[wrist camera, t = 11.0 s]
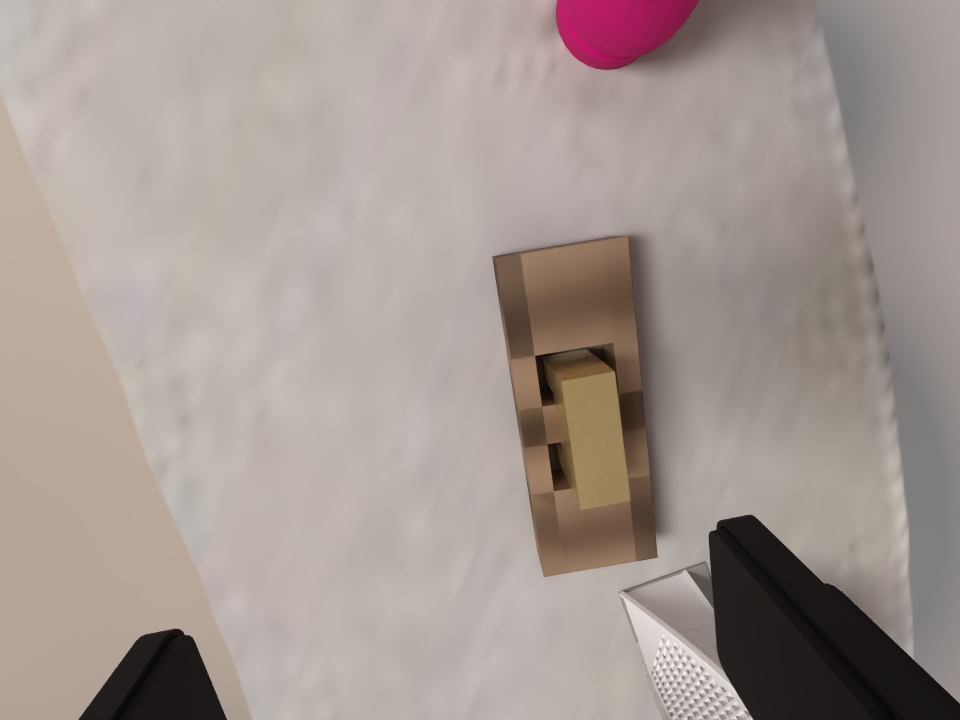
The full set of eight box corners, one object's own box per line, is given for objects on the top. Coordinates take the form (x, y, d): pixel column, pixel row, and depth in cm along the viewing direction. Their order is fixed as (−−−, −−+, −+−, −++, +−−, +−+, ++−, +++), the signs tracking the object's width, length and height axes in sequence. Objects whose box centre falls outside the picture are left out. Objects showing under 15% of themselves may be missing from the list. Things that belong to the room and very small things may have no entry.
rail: (492, 256, 34) (495, 258, 31) (612, 236, 34) (627, 236, 31) (537, 551, 39) (544, 577, 36) (642, 533, 39) (657, 557, 36)
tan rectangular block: (542, 355, 35) (561, 381, 29) (585, 347, 35) (614, 371, 29) (558, 463, 37) (580, 510, 31) (600, 455, 37) (630, 500, 31)
